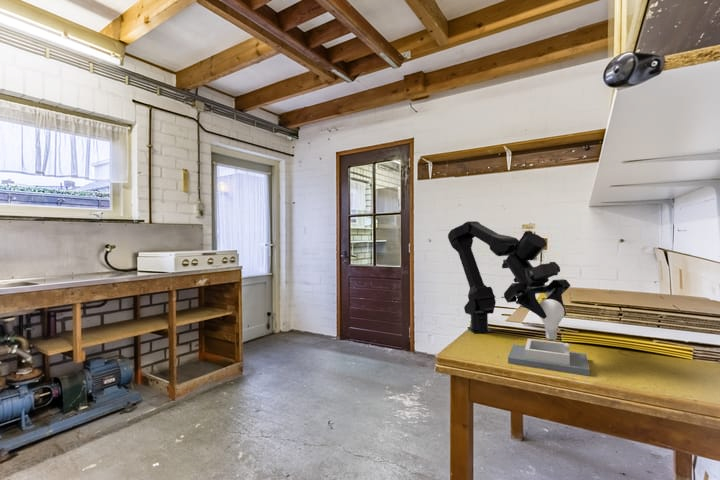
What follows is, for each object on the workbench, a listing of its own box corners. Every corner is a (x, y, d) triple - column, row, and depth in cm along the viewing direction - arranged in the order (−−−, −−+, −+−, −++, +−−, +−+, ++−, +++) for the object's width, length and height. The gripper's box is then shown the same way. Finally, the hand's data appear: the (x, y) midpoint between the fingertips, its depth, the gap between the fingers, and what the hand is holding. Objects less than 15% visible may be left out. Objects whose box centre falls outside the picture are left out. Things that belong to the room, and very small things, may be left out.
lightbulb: (534, 340, 90) (533, 299, 90) (542, 334, 95) (541, 296, 94) (561, 345, 86) (560, 302, 85) (568, 339, 90) (567, 298, 90)
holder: (508, 363, 89) (507, 348, 89) (513, 349, 100) (513, 336, 100) (589, 376, 80) (589, 359, 80) (586, 359, 90) (585, 344, 90)
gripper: (510, 253, 91) (544, 302, 80) (564, 251, 96) (602, 296, 86) (491, 279, 98) (520, 326, 88) (542, 275, 104) (574, 319, 94)
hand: (555, 316), depth 89 cm, fingers closed on lightbulb, 6 cm apart
